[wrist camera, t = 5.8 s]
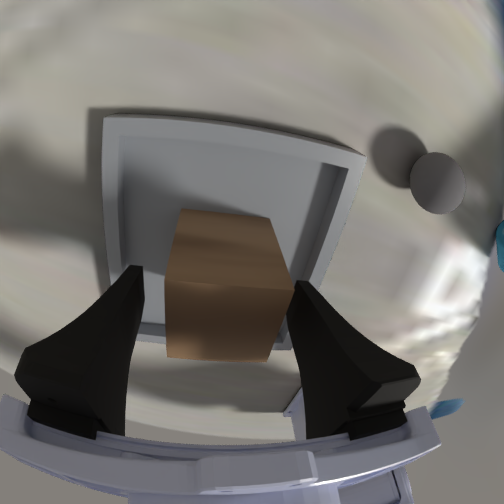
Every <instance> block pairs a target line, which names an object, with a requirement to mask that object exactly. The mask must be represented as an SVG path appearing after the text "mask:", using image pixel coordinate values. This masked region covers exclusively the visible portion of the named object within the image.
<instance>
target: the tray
mask: <svg viewBox="0 0 504 504" xmlns="http://www.w3.org/2000/svg"><path fill="white" fill-rule="evenodd" d="M367 158H368V157H366V156H365V155H363V154H361V153H360V152H358V151H356V150H354V149H351V148H348V147H344V146H341V145H337V144H333V143H330V142H326V141H322V140H318V139H314V138H310V137H306V136H301V135H297V134H293V133H288V132H283V131H278V130H273V129H268V128H263V127H257V126H252V125H246V124H239V123H233V122H226V121H218V120H210V119H202V118H192V117H181V116H169V115H152V114H112V115H109V116H107V117H104V119H103V136H102V202H103V219H104V232H105V243H106V252H107V261H108V268H109V276H110V282H111V285H112V284H113V283H114V282H115V281H116V280H117V279H118V278H119V277H120V275H121V274H122V273H123V272H124V271H125V270H126V268H127V267H128V266H129V265H138V266H143V275H144V291H145V303H144V309H143V315H142V320H141V323H140V327H139V330H138V334H137V337H136V341H143V342H152V343H160V344H166V331H165V302H164V278H165V273H166V269H167V264H168V260H169V256H170V251H171V247H172V243H173V239H174V235H175V231H176V227H177V223H178V219H179V215H180V211H181V208H183V209H192V210H202V211H211V212H220V213H229V214H237V215H246V216H254V217H262V218H269V219H270V221H271V223H272V226H273V229H274V232H275V235H276V237H277V240H278V243H279V246H280V249H281V252H282V254H283V257H284V260H285V263H286V266H287V269H288V272H289V275H290V278H291V280H292V283H293V286H295V283H296V281H297V280H302V281H309V282H310V283H311V284H312V285H313V286H314V287H315V288H316V290H317V291H318V289H319V287H320V285H321V282H322V280H323V278H324V275H325V273H326V271H327V268H328V266H329V263H330V261H331V258H332V256H333V253H334V251H335V248H336V246H337V243H338V241H339V238H340V235H341V233H342V230H343V228H344V225H345V222H346V219H347V217H348V214H349V211H350V209H351V206H352V203H353V200H354V197H355V194H356V191H357V189H358V186H359V183H360V180H361V177H362V174H363V171H364V167H365V164H366V161H367ZM292 346H293V345H292V342H291V338H290V335H289V331H288V326H287V319H286V315H285V317H284V320H283V322H282V325H281V327H280V330H279V333H278V335H277V338H276V340H275V342H274V345H273V347H272V350H291V348H292Z"/></svg>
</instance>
